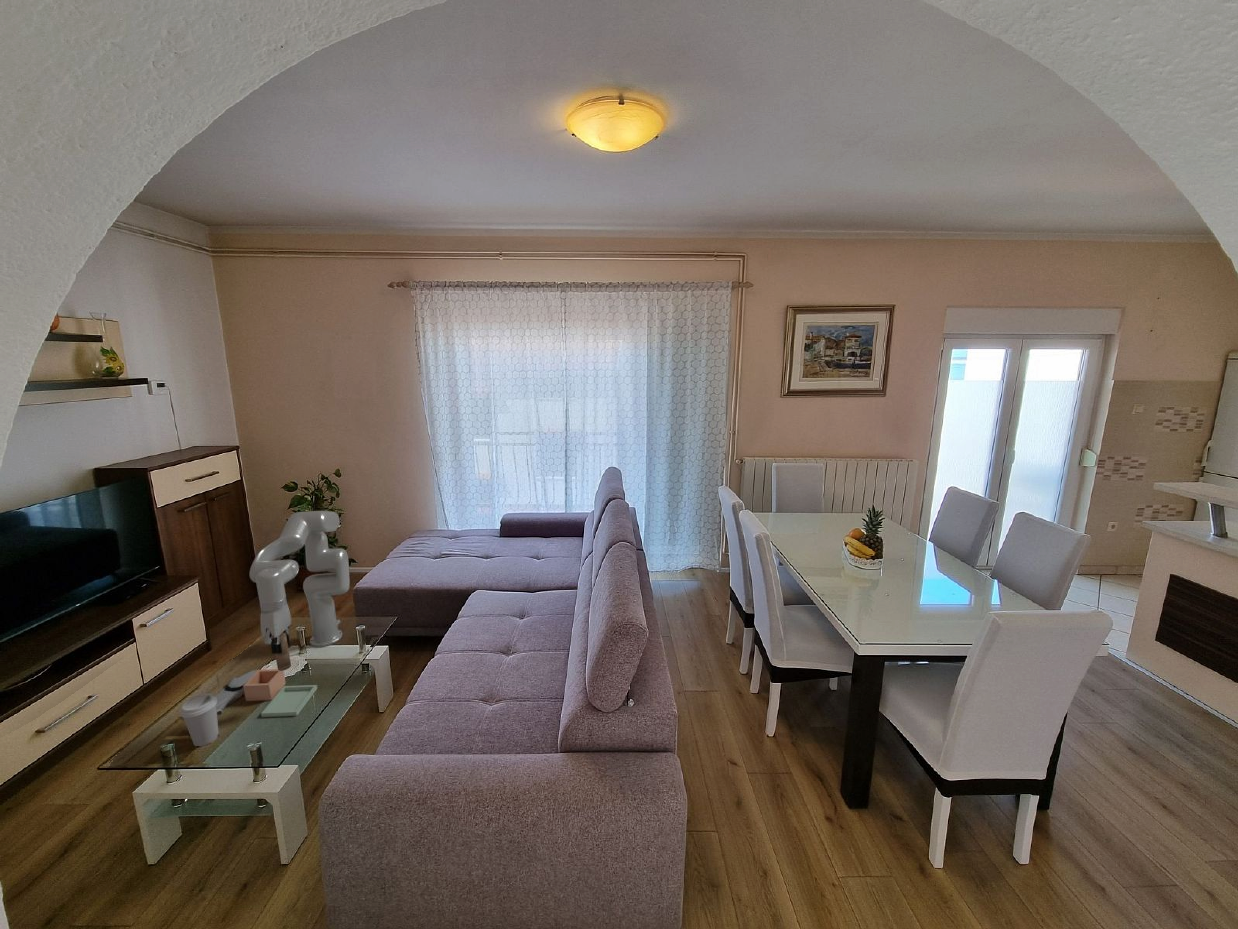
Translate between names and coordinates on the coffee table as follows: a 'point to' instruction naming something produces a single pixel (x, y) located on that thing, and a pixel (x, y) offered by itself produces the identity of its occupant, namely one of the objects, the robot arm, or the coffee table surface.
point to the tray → (289, 701)
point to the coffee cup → (201, 718)
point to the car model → (232, 691)
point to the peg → (283, 654)
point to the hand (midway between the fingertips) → (281, 648)
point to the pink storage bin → (264, 685)
